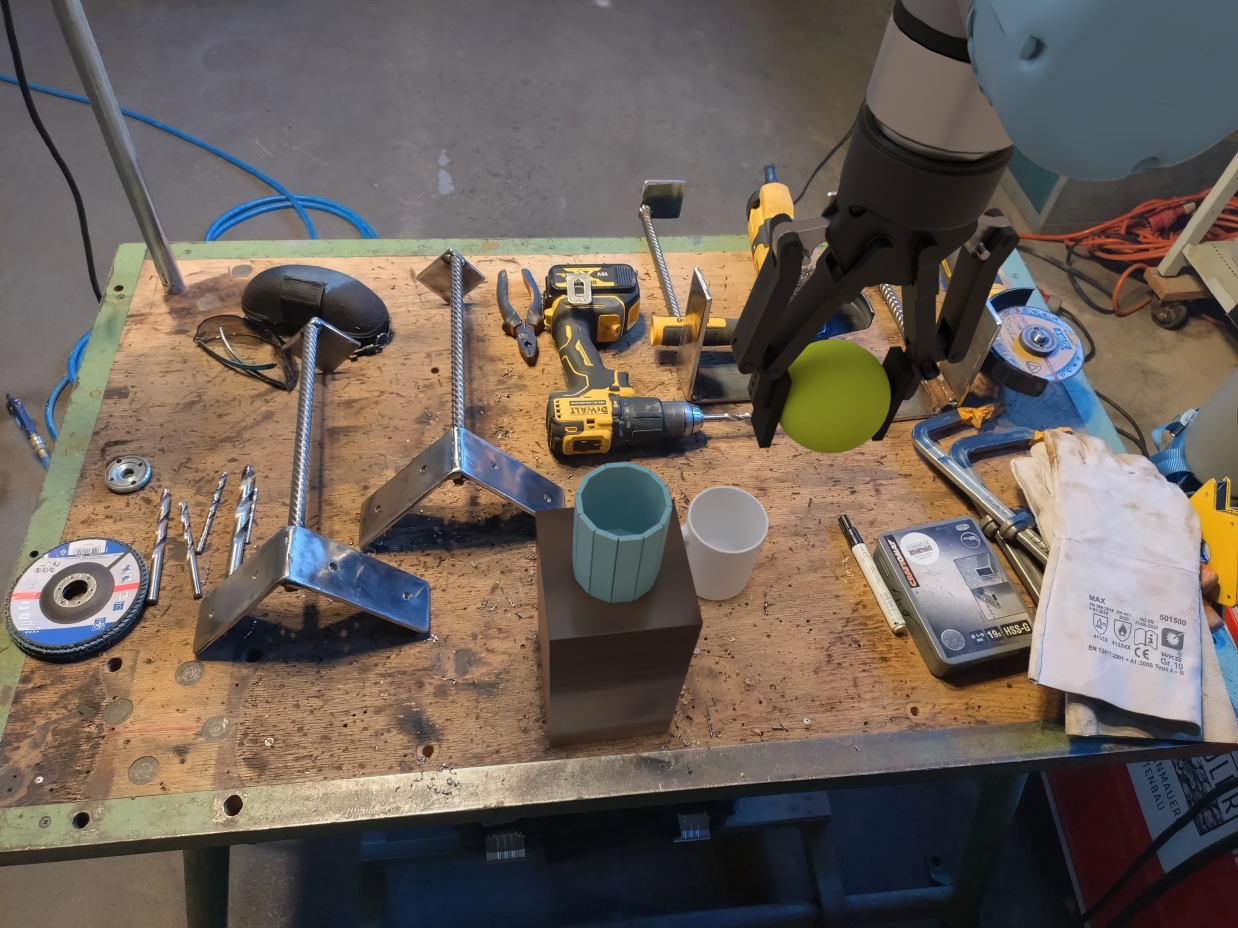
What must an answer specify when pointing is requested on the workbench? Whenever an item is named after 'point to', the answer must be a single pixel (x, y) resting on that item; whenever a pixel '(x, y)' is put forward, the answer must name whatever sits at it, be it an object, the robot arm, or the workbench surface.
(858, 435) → the ball
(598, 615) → the dark brown block
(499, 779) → the workbench surface
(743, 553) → the mug
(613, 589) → the tumbler
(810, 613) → the workbench surface
